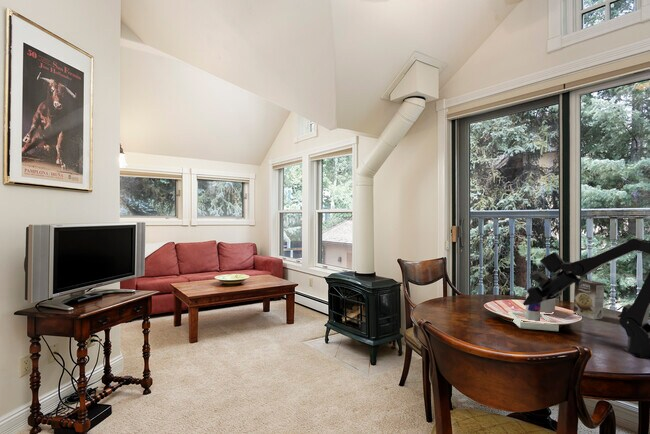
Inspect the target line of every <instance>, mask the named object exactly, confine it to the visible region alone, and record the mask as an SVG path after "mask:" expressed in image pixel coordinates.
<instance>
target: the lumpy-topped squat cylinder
mask: <svg viewBox="0 0 650 434" xmlns="http://www.w3.org/2000/svg"><path fill="white" fill-rule="evenodd" d="M540 312H545V313H552V312H555V313H556V298H554V299H550V300H545V301H543V302H541V311H540Z"/></svg>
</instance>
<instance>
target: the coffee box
mask: <svg viewBox="0 0 650 434" xmlns="http://www.w3.org/2000/svg"><path fill="white" fill-rule="evenodd" d="M604 294H605V283H604V282H600V281H595V280H591V279H584V278H582V285H580V286H577V285H576V284H575V283H574V291H573V309H572V310H573V312H575V313H577V314H579V315H578V316H580V315H581V317H584V318H587V319H591V320H599V319H603V313H604V300H605V299H604V296H605V295H604ZM573 312H572V313H573ZM577 314H576V315H577Z"/></svg>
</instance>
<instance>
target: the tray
mask: <svg viewBox="0 0 650 434" xmlns="http://www.w3.org/2000/svg"><path fill="white" fill-rule="evenodd" d="M508 314H509V315H511V316H512V317H513V318H514V320H513V321H512V322H513V323H514V324H515V326H517V327H518V328H519V329H527V330H541V331H542V330H543V331H551V332H559V326H560V325H559V323H557V324H544V323H536V322H523V321H521V320H520V319H519V318H518V317H516V316H515V315H523V316H525V312H520V311H508ZM508 314H507V315H508ZM540 317H542V318H544V319H545V320H547V321H549V322H555V321H554V320H552V319H551V318H549V317H548V315H544V314H540Z"/></svg>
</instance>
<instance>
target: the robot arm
mask: <svg viewBox="0 0 650 434" xmlns="http://www.w3.org/2000/svg"><path fill="white" fill-rule="evenodd" d="M636 251H637V252H642V253H643V254H648V255H650V240H648V239H643V238H639V237H633V238H629V239H628V240H627V241H624V242H622V243H619V244H618V245H615V246H613V247H611V248H609V249H607V250H604V251H602V252H600V253H598V254H595V255H593V256H590V257H585V258H582V259H578V260H573V261H572V262H570V261H566V262H565V261H564V259H562V257H561V256H560V255H559V254H558V253H557V252H556V251H555V252H554V251H553V252H552V253H550V254H548V255H546V256H544V257H542V258H541V259H540V260H539V262H540V263H541V265H543V267H544V268H545V269H546V270H547V271H548V272H549V273H554V274H555V275H554V276H552V277H549V276H548V275H546V274H544V273H543V272H541V271H539V270H534V271H532V273H530V274H529V279H530V280H532V281H534V282H536V283H537V284H538V286H534V285H533V286H531V287H529V288H528V289H527V290H526V291H527V293H529V296H528V297H527V298H526V297H525V300H524V301H523V303H522V304H523V306H526V305H531V304H537V303H541V302H543V301H545V300H550V299H554V298H555V299H556V298H559V297H561V296H562V295H563V291H566V289H567V288H569V287H571V286H572V285H573V284H574V285H575V284H576V285H577V286H580V285H582V279H583V278H582V276H586V275H587V276H588V275H590V274H592V273H593V272H595V271H596V270H598V269H599V268H600V267H601V266H604V265H605V264H607V263H609V262H612V261H614V260H616V259H618V258H621V257H623V256H626V255H628V254H630V253H632V252H636ZM540 288H541V289H540ZM617 317H618V318H619V319H618V323H619V324H620V326H621V327H622V329H624V331H625V334H626V335H627V347H622V350H624V351H625V352H626V353H628V352H629V353H628V354H630V353H631V354H630V355H631V356H633V355H634V356H633V357H635V356H640V357H639V358H643V357H650V323H649V318H650V271H649V272H648V275H647V276H646V279H645V280H644V282H643V283H642V286H641V288H640V290H639V292H638V293H637V296H636V298H635V299H634V302H633V303H632V304H630V303H628V304H626V305H624V306H623V307H622V309H621V313H619V315H617Z"/></svg>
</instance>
